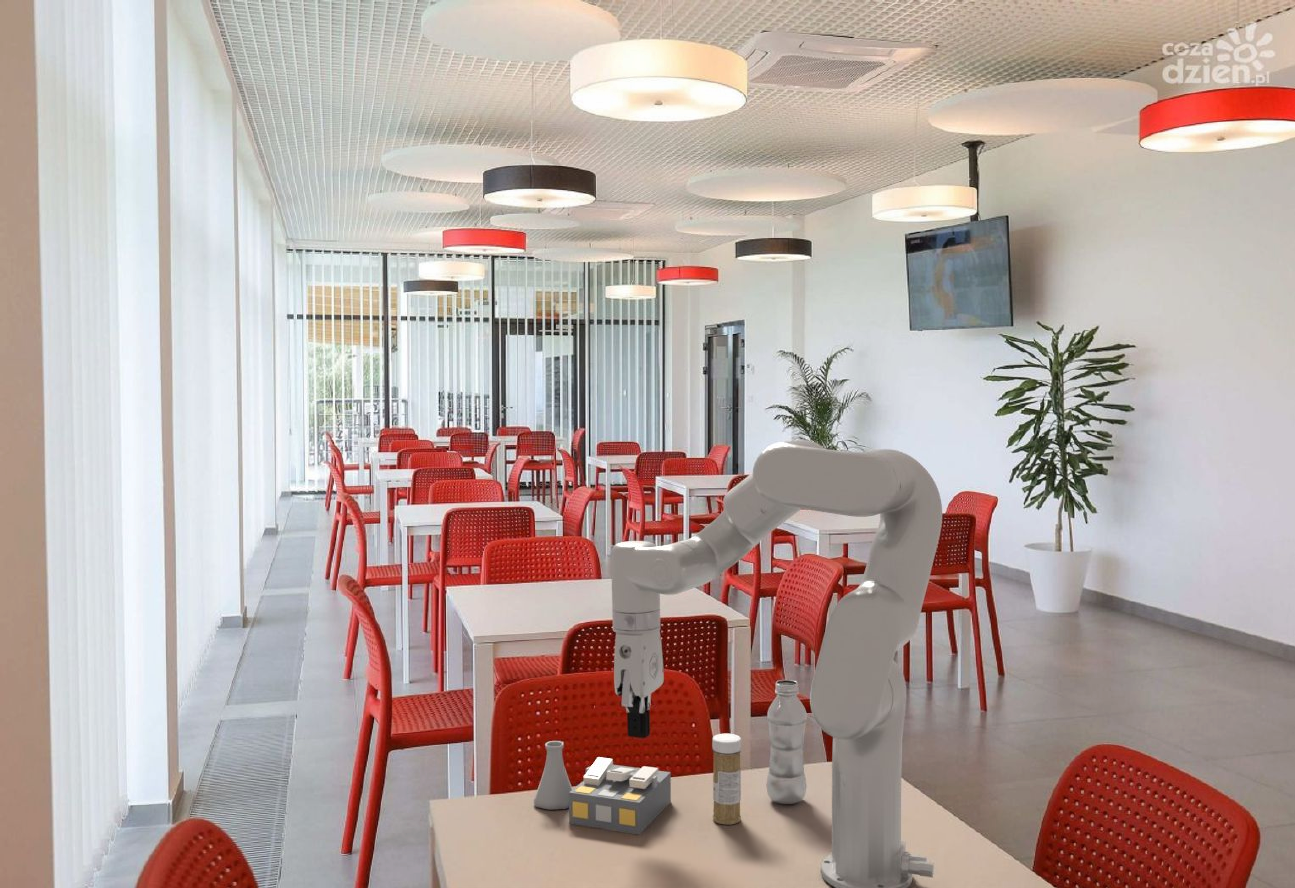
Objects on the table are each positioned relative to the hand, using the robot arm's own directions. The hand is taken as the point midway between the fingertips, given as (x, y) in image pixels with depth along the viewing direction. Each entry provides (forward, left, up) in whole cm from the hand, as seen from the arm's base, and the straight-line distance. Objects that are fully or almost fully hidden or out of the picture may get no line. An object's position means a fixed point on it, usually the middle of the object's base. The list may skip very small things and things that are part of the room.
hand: (638, 735), depth 165 cm
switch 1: (+8, -3, -8) cm, 12 cm away
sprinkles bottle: (-13, -6, -14) cm, 20 cm away
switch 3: (0, -3, -8) cm, 8 cm away
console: (+4, -3, -14) cm, 15 cm away
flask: (+16, -3, -14) cm, 22 cm away
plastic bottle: (-20, -17, -14) cm, 30 cm away
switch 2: (+4, -3, -8) cm, 9 cm away
